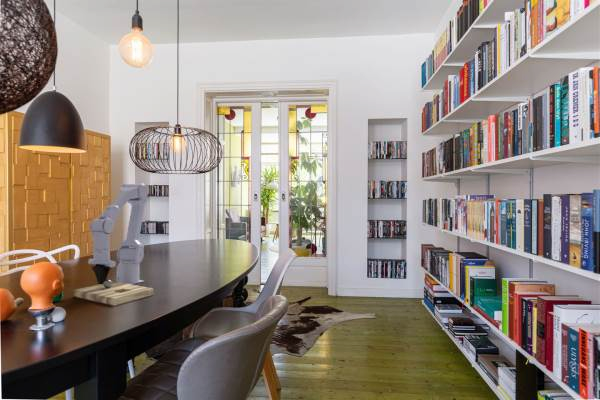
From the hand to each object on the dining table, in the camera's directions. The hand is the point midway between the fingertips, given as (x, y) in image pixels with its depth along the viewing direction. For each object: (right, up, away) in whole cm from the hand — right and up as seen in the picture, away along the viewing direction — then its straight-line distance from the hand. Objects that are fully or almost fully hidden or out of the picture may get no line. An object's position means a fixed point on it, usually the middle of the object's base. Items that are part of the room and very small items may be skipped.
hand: (101, 283), depth 139 cm
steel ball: (+3, 0, -2) cm, 4 cm away
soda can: (-11, -4, -11) cm, 16 cm away
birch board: (+7, -4, -4) cm, 9 cm away
